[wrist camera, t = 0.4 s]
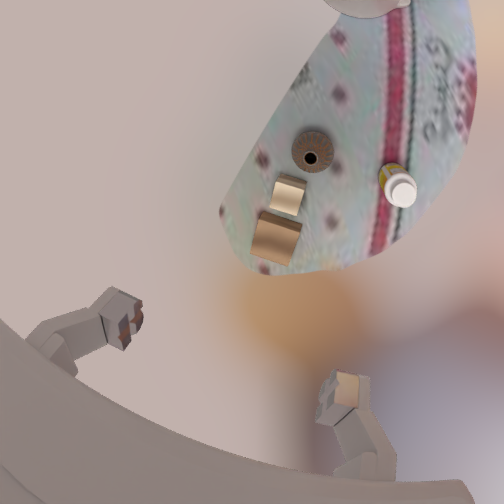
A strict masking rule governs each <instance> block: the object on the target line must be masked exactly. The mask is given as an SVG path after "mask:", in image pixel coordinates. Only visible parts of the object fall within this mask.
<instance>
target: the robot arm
mask: <svg viewBox="0 0 504 504" xmlns="http://www.w3.org/2000/svg"><path fill="white" fill-rule="evenodd" d="M324 1H325V2H326V3H327V4H328V5H329V6H331V7H332V8H334V9H335V10H337V11H339V12H341V13H343V14H346V15H349V16H352V17H357V18H375V17H379V16H382V15H384V14H386V13H388V12H389V11H391V10H393V9H395V8H404V7H407V6H409V5H410V0H324ZM142 307H143V305H142V300H140V299H137V298H135V297H133V296H131V295H129V294H127V293H125V292H123V291H121V290H119V289H117V288H115V287H113V286H112V287H109V288H108V289H107V290H106V291H105V292H104V293H103V294H102V295H101V296H100V297H99V298H98V299H97V300H96V301H95V302H94V303H93V304H92V305H91V306H90V307H89V309H87V308H83V309H80V310H77V311H73V312H70V313H67V314H64V315H61V316H58V317H54V318H52V319H48V320H45V321H42V322H41V323H40V324H39V325H38V326H37V327H36V328H35V329H34V330H33V331H32V332H31V333H30V334H29V336H28V337H27V338H26V339H25V340H24V339H23V338H21V337H20V336H19V335H18V334H17V333H16V332H15V331H13V330H12V329H11V328H10V327H9V326H8V325H7V324H6V323H4V322H3V321H2V320H1V319H0V504H475V502H474V499H473V497H472V495H471V494H470V492H469V490H468V489H467V487H466V486H465V484H464V483H463V481H461V480H458V479H457V480H454V479H453V480H441V481H421V482H395V479H396V462H397V454H396V452H395V450H394V448H393V447H392V445H391V443H390V441H389V440H388V438H387V436H386V434H385V432H384V430H383V429H382V427H381V426H380V423H379V422H378V420H377V418H376V416H375V415H374V413H373V412H371V411H370V378H369V377H367V376H362V375H358V374H355V373H351V372H346V371H343V370H339V369H334V370H333V371H332V372H331V376H330V378H328V379H326V380H325V382H324V383H323V385H322V388H321V391H320V394H319V401H320V403H321V405H320V406H319V407H318V408H317V412H316V418H315V422H316V423H320V424H324V425H329V426H333V429H334V431H335V434H336V437H337V439H338V442H339V444H340V447H341V450H342V452H343V455H344V458H345V461H346V463H345V464H343V465H341V466H339V467H338V468H336V469H335V470H334V472H333V476H326V475H320V474H314V473H308V472H303V471H298V470H293V469H288V468H284V467H279V466H275V465H271V464H267V463H263V462H260V461H256V460H252V459H249V458H246V457H242V456H239V455H236V454H232V453H229V452H226V451H223V450H220V449H218V448H215V447H212V446H209V445H206V444H204V443H201V442H198V441H196V440H193V439H191V438H188V437H186V436H183V435H181V434H178V433H176V432H174V431H172V430H169V429H167V428H165V427H163V426H160V425H158V424H156V423H154V422H152V421H150V420H148V419H146V418H144V417H142V416H140V415H138V414H136V413H134V412H132V411H130V410H128V409H126V408H124V407H123V406H121V405H119V404H117V403H115V402H114V401H112V400H110V399H108V398H107V397H105V396H103V395H101V394H100V393H98V392H97V391H95V390H93V389H91V388H90V387H88V386H87V385H85V384H84V383H82V382H81V381H79V380H78V379H76V378H75V376H76V375H77V373H78V369H77V367H76V365H75V363H74V360H76V359H78V358H80V357H82V356H84V355H87V354H89V353H91V352H92V351H95V350H97V349H99V348H101V347H103V346H105V345H107V343H108V344H110V345H112V346H114V347H116V348H118V349H120V350H122V351H124V350H125V349H126V347H127V346H128V345H129V343H130V342H131V335H134V334H136V333H137V332H138V331H139V330H140V328H141V325H142V323H143V318H144V317H143V313H142V311H141V308H142Z"/></svg>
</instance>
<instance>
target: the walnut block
mask: <svg viewBox="0 0 504 504" xmlns="http://www.w3.org/2000/svg"><path fill="white" fill-rule="evenodd" d="M301 227H302V224H300V223H297V222H294V221H291V220H289V219H286V218H283V217H280V216H277V215H274V214H271V213H268V212H264V211H263V213H262V214H261V216H260V218H259V220H258V224H257V228H256V231H255V235H254V239H253V243H252V246H251V250H250V254H253V255H256V256H259V257H261V258H264V259H267V260H270V261H273V262H276V263H279V264H282V265H285V266H288V265H289V262H290V259H291V256H292V254H293V251H294V248H295V245H296V243H297V240H298V237H299V234H300V231H301Z"/></svg>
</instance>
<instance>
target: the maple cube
mask: <svg viewBox="0 0 504 504" xmlns="http://www.w3.org/2000/svg"><path fill="white" fill-rule="evenodd" d="M306 184H307V182H306V181H303V180H300V179H296V178H293V177H290V176H287V175H283V174H280V176H279V178H278V179H277V181H276V183H275V187H274V191H273V195H272V199H271V202H270V206H269V207H270V208H273V209H276V210H279V211H282V212H286V213H289V214H292V215H295V216H297V213H298V210H299V206H300V203H301V200H302V197H303V193H304V190H305V187H306Z"/></svg>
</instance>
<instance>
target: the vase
mask: <svg viewBox="0 0 504 504" xmlns="http://www.w3.org/2000/svg"><path fill="white" fill-rule="evenodd" d="M333 156H334V150H333V146H332V143H331V142H330V140H329V139H328V138H327V137H326V136H325V135H323V134H322V133H319V132H315V131H310V132H306V133H303V134H301V135H300V136H299V137H298V138H297V139H296V140H295V142H294V143H293V146H292V157H293V160H294V162H295V163H296V165H297V166H298V167H299V168H300V169H302V170H303V171H306V172H309V173H318V172H321V171H323V170H325V169H326V168H327V167H328V166H329V165H330V164H331V162H332V160H333Z"/></svg>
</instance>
